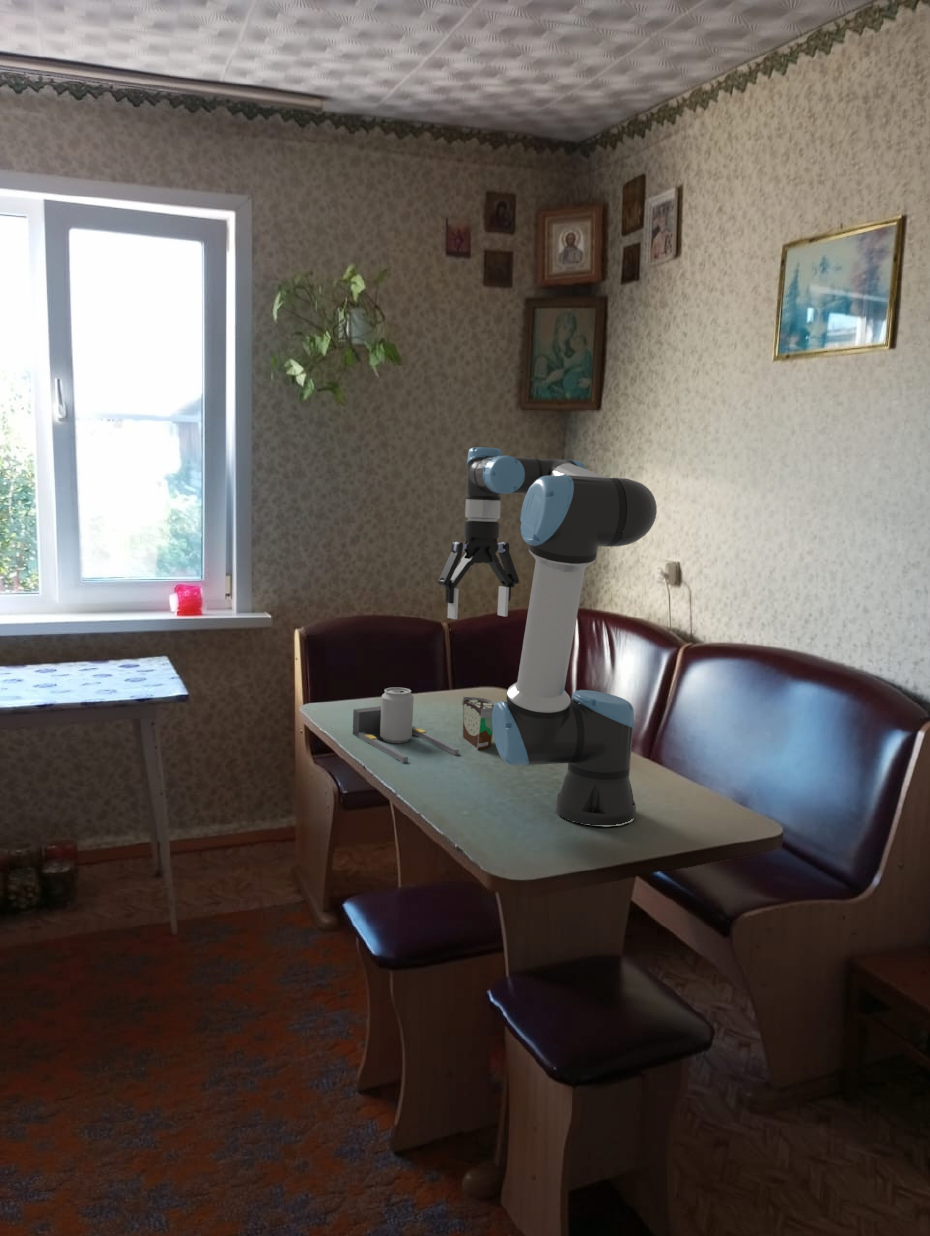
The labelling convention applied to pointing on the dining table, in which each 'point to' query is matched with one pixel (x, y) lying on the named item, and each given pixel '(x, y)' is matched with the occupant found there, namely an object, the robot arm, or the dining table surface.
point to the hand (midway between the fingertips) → (477, 617)
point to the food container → (477, 722)
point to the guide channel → (369, 725)
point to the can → (396, 715)
